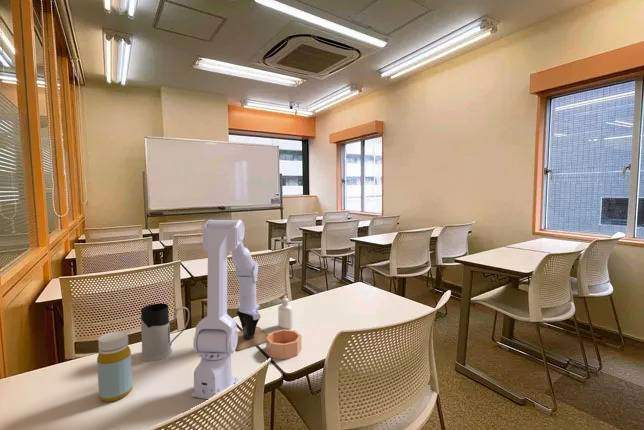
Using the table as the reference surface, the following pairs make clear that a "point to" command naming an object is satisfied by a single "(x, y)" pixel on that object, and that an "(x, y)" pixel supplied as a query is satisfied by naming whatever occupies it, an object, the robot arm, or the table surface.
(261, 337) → the lid
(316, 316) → the table surface
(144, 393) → the table surface
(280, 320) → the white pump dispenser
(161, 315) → the glass holder
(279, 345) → the bowl
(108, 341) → the bottle
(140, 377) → the table surface
